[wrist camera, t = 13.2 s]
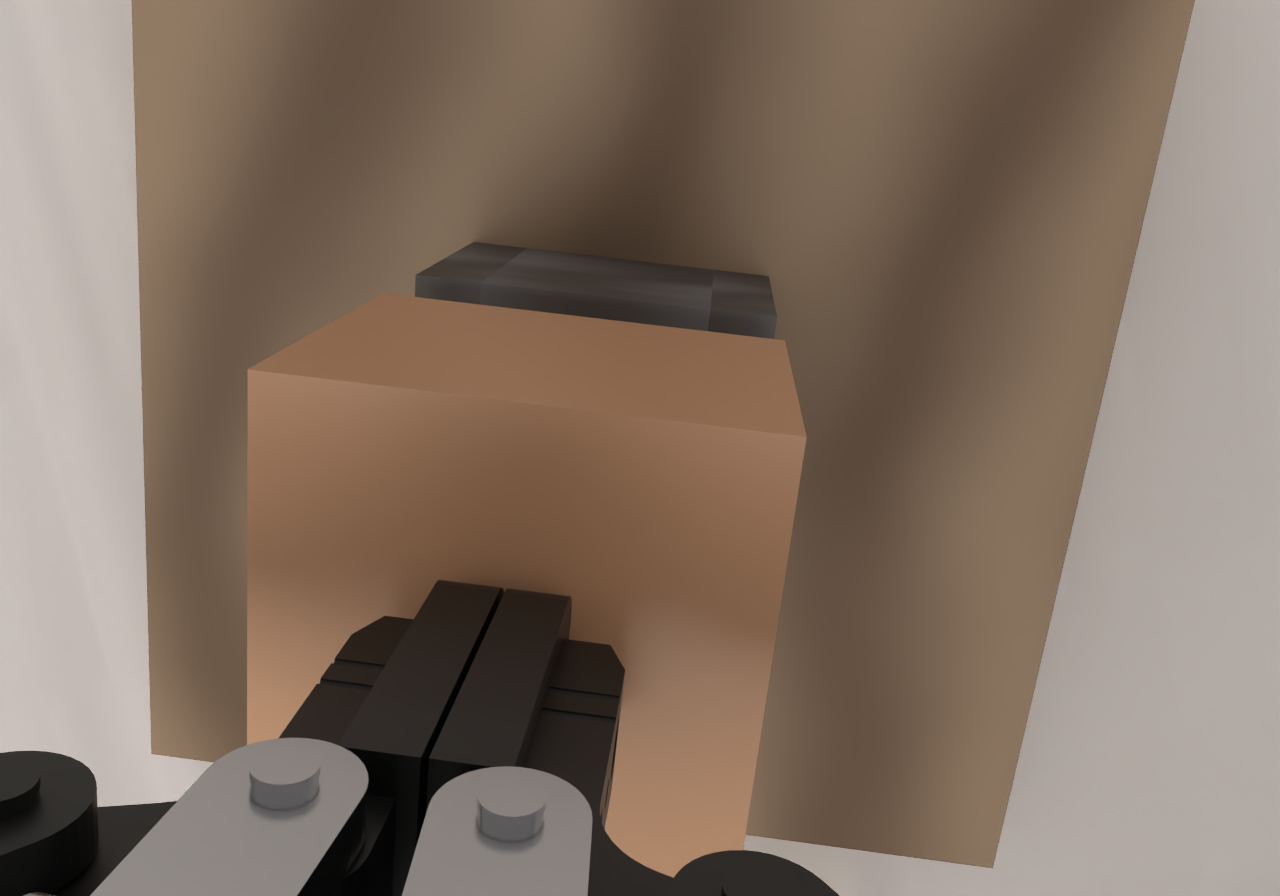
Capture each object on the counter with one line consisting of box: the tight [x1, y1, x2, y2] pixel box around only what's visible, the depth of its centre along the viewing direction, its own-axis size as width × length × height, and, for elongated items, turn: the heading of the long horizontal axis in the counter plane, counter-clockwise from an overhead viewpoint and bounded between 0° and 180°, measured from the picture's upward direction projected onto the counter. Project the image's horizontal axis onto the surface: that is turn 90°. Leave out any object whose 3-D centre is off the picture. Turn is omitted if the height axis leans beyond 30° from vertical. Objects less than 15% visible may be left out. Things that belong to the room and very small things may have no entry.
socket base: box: [132, 0, 1195, 868], centre depth 23 cm, size 20×20×6 cm
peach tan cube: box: [247, 293, 807, 878], centre depth 15 cm, size 6×6×5 cm
